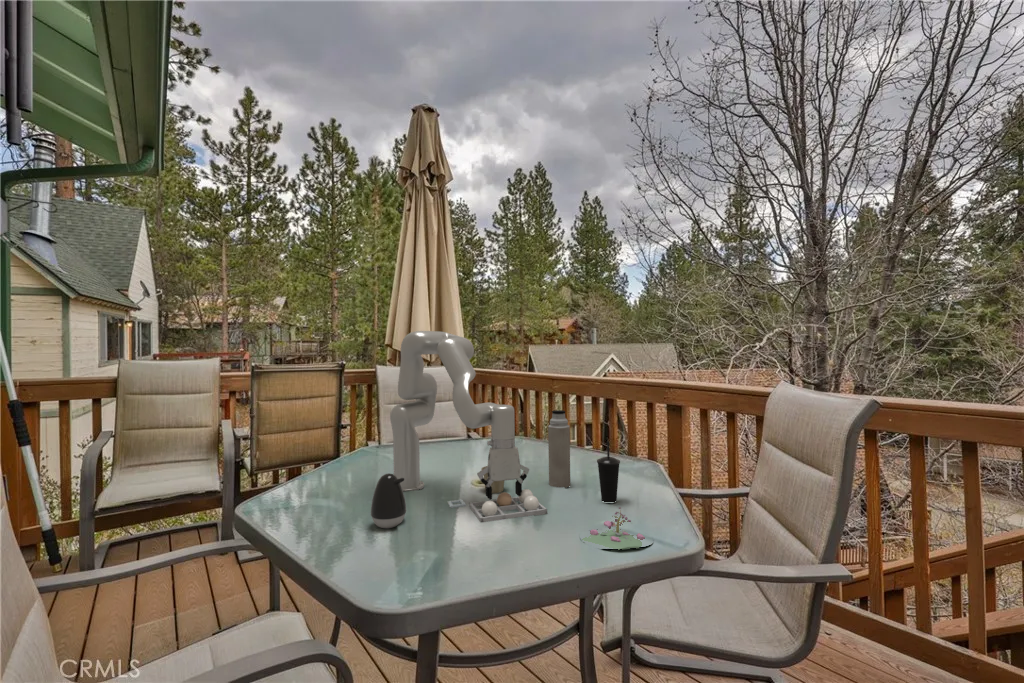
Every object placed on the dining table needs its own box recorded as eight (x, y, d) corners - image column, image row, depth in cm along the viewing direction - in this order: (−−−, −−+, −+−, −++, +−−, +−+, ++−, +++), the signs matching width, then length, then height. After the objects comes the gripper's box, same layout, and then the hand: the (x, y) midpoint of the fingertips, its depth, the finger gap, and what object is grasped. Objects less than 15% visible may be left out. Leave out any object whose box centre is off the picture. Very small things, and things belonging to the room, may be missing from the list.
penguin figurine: (394, 534, 133) (393, 480, 133) (363, 529, 136) (362, 476, 136) (413, 521, 142) (413, 470, 142) (384, 517, 146) (384, 468, 146)
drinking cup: (607, 506, 152) (606, 445, 152) (592, 500, 159) (591, 440, 159) (625, 502, 156) (624, 442, 156) (610, 496, 163) (609, 438, 163)
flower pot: (509, 488, 173) (508, 465, 173) (506, 497, 163) (506, 472, 163) (483, 488, 174) (483, 464, 174) (479, 496, 164) (479, 471, 164)
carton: (480, 525, 138) (480, 518, 138) (469, 509, 152) (469, 502, 152) (547, 515, 145) (547, 509, 145) (530, 501, 159) (530, 495, 159)
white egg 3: (526, 514, 144) (526, 499, 144) (521, 509, 149) (521, 494, 149) (541, 512, 146) (541, 497, 146) (535, 507, 151) (535, 492, 151)
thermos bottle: (555, 481, 181) (554, 408, 181) (574, 484, 177) (572, 409, 177) (545, 486, 174) (544, 411, 175) (564, 490, 170) (563, 412, 170)
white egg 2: (519, 504, 151) (523, 490, 151) (514, 500, 155) (518, 485, 156) (533, 507, 152) (537, 493, 153) (527, 503, 157) (531, 488, 157)
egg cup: (448, 511, 150) (448, 507, 150) (445, 505, 156) (445, 500, 156) (468, 509, 152) (468, 504, 152) (464, 502, 158) (464, 498, 158)
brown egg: (500, 511, 148) (498, 495, 148) (495, 506, 153) (494, 492, 153) (514, 508, 150) (513, 493, 150) (509, 503, 154) (508, 489, 154)
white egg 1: (484, 520, 140) (483, 504, 140) (479, 515, 145) (479, 499, 145) (499, 518, 142) (499, 502, 142) (494, 513, 146) (494, 497, 146)
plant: (570, 519, 144) (570, 489, 144) (637, 517, 144) (637, 487, 145) (586, 555, 119) (585, 519, 119) (667, 553, 120) (666, 517, 120)
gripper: (480, 448, 145) (481, 503, 145) (532, 443, 151) (533, 497, 151) (474, 443, 153) (474, 496, 152) (524, 439, 158) (525, 490, 158)
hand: (503, 496), depth 152 cm, fingers open, 9 cm apart
